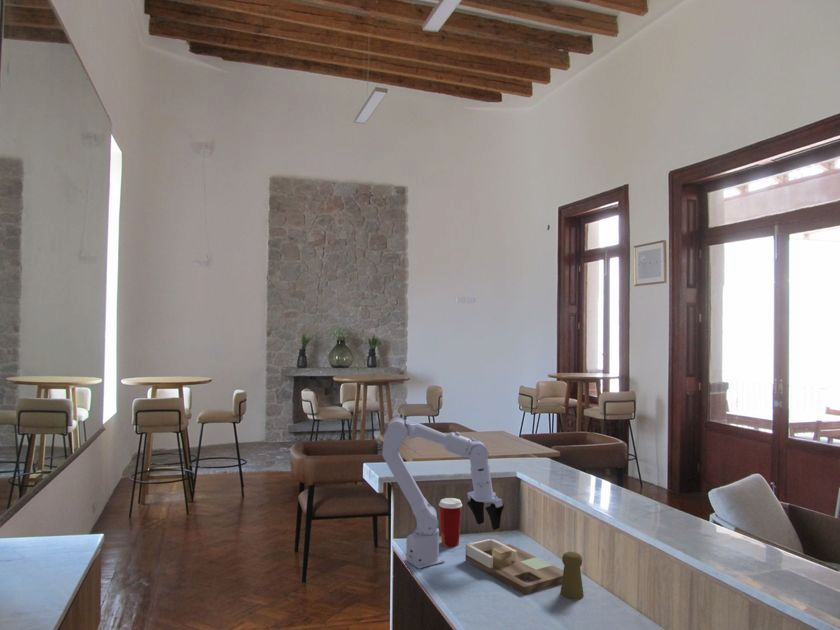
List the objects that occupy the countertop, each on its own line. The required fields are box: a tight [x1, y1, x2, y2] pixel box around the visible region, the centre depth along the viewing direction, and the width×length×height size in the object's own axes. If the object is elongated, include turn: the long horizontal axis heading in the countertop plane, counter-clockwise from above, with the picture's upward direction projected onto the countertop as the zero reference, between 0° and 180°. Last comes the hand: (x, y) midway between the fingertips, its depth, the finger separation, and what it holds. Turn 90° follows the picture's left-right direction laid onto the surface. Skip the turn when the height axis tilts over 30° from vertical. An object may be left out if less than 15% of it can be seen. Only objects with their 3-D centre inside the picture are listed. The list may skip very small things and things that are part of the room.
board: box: [465, 543, 564, 595], centre depth 180 cm, size 17×26×2 cm, turn 32°
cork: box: [559, 551, 585, 601], centre depth 165 cm, size 6×6×11 cm
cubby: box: [465, 538, 517, 568], centre depth 185 cm, size 10×12×3 cm
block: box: [492, 546, 512, 567], centre depth 181 cm, size 4×4×4 cm
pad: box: [520, 556, 552, 570], centre depth 181 cm, size 6×7×2 cm
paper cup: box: [438, 497, 463, 548], centre depth 201 cm, size 8×8×14 cm
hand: (488, 526), depth 188 cm, fingers open, 7 cm apart
